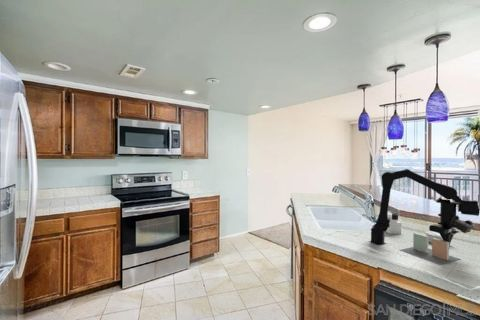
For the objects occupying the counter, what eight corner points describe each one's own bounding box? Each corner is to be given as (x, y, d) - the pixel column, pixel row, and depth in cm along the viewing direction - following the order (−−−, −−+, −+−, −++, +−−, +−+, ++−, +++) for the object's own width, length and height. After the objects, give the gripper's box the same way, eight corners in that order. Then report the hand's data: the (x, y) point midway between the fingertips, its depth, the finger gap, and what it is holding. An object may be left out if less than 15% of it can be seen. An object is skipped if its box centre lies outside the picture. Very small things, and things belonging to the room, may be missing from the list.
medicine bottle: (395, 230, 153) (395, 212, 153) (401, 234, 146) (401, 214, 145) (383, 230, 154) (383, 211, 153) (389, 234, 146) (389, 214, 146)
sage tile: (426, 253, 116) (426, 236, 116) (413, 248, 122) (413, 233, 122) (428, 252, 117) (428, 236, 117) (415, 248, 123) (415, 232, 122)
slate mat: (440, 266, 103) (440, 265, 103) (398, 251, 120) (398, 250, 120) (461, 260, 109) (461, 259, 109) (419, 246, 126) (419, 245, 126)
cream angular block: (446, 260, 109) (446, 242, 108) (431, 255, 114) (432, 238, 114) (448, 259, 109) (449, 242, 109) (433, 254, 115) (434, 238, 115)
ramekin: (420, 241, 135) (420, 231, 135) (433, 238, 139) (433, 229, 139) (443, 248, 124) (443, 238, 124) (456, 245, 128) (456, 235, 128)
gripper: (457, 218, 102) (456, 254, 103) (480, 214, 109) (480, 248, 110) (428, 213, 113) (428, 245, 113) (451, 209, 120) (451, 240, 120)
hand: (447, 245), depth 114 cm, fingers closed
